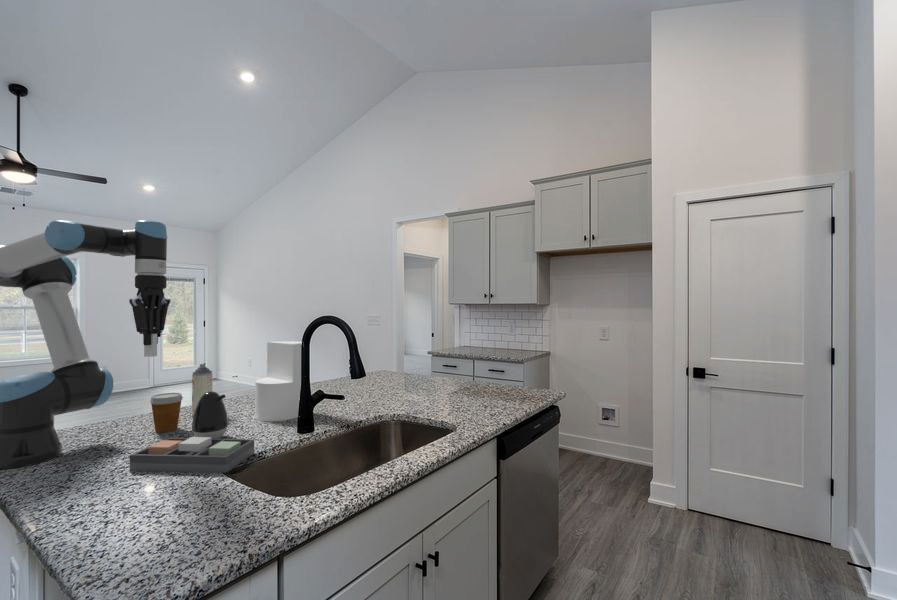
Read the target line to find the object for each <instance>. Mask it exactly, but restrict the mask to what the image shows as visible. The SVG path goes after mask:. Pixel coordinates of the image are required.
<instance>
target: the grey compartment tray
mask: <svg viewBox="0 0 897 600" xmlns="http://www.w3.org/2000/svg"><path fill="white" fill-rule="evenodd" d="M187 439H189V438H187V437H186V438H185V437H184V438H183V437H168V438H165V439H164V440H175V441H185V440H187ZM221 441H229V442H241V446H240V447H238V448H237V449H235V450H234V451H232V452H230V453H229V454H227V455H225V456H209V448H210V447H212V446H214V445H216V444H217V443H219V442H221ZM159 442H160V441H158V442H157V443H159ZM150 446H151V445H149V446H148V447H150ZM148 447H145V448H143V449H141V450H137V451H136V452H134V453H131V454H129V471H134V472H135V471H137V472H175V473H178V472H179V473H180V472H181V473H183V472H184V473H213V474H214V473H215V474H216V473H218V474H219V473H222V474H225V473H228V472H229V471H231V470H232V469H233V468H235V467H236V466H238V465H239V464H241V463H242V462H244V461H245V460H247V459H248V458H251V456H252V455H254V454H255V439H247V438H245V439H241V438H238V439H237V438H219V439H211V445H209V446H208V447H206V448H204V449H202V450H200V451H178V447H177V448H175V449H173V450H171V451H169V452H167V453H165V454H163V455H154V454H148Z"/></svg>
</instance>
